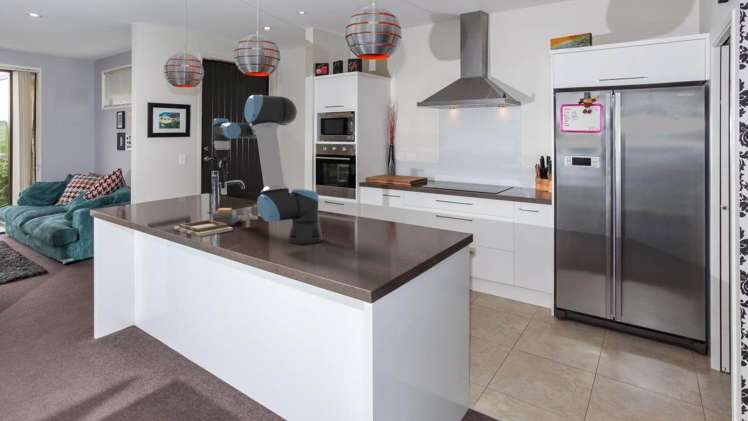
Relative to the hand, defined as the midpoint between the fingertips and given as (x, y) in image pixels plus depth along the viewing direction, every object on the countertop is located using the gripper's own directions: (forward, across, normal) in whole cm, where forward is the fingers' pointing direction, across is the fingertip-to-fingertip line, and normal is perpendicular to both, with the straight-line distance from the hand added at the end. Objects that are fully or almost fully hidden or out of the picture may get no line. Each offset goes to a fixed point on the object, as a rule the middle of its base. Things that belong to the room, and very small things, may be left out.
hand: (223, 194), depth 234 cm
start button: (+11, 0, 0) cm, 11 cm away
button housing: (+15, 0, 0) cm, 15 cm away
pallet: (+15, +18, -6) cm, 24 cm away
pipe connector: (+15, +11, +14) cm, 24 cm away
